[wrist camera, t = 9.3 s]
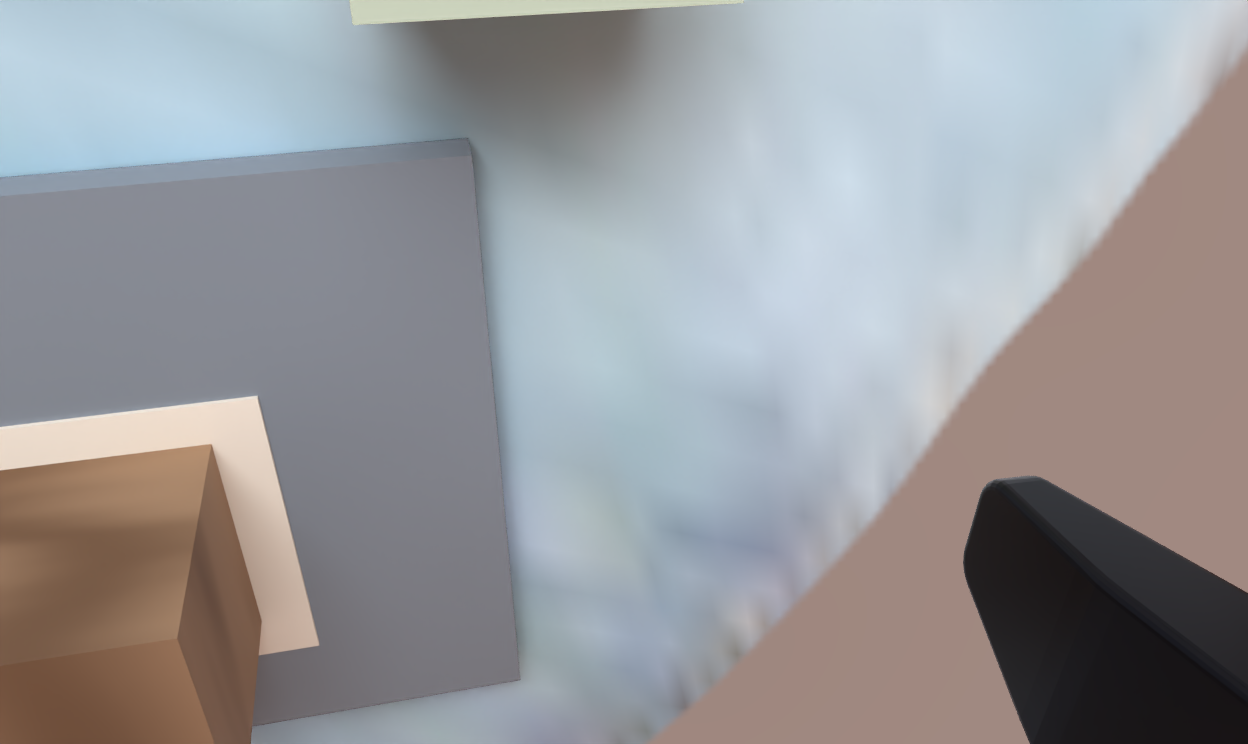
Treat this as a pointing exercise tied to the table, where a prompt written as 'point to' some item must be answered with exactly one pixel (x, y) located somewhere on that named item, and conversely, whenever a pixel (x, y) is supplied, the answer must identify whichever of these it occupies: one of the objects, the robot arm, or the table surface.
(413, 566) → the gray flat panel
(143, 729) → the walnut block
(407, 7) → the sage block
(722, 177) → the table surface
